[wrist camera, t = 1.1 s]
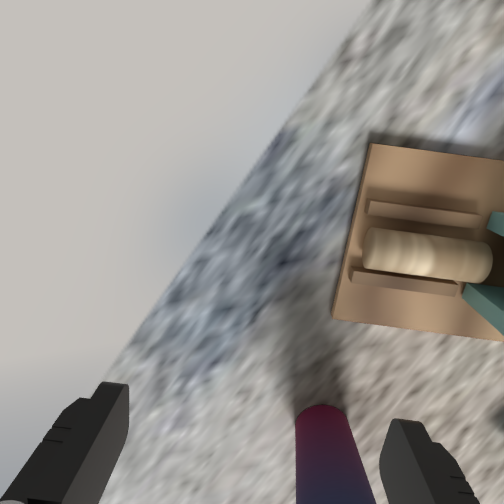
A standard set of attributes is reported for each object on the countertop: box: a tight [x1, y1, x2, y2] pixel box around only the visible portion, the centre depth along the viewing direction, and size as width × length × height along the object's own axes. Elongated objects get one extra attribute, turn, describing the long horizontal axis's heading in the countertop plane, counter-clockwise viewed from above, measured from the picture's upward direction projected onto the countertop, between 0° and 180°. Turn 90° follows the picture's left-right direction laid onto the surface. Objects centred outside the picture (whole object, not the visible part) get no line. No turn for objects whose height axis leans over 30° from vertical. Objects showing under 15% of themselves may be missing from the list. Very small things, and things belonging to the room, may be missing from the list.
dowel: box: [362, 227, 493, 283], centre depth 26 cm, size 8×3×3 cm, turn 83°
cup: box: [295, 405, 376, 504], centre depth 28 cm, size 7×7×15 cm
